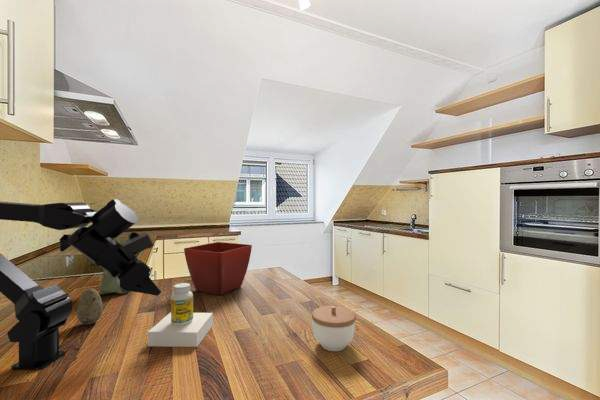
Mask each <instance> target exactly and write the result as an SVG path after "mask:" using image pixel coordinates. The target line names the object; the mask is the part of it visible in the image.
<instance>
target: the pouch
mask: <svg viewBox="0 0 600 400" xmlns="http://www.w3.org/2000/svg"><path fill="white" fill-rule="evenodd" d="M111 239H112V240H114V241H115V242H116V241H117V242H118V243H120V244H121V241H120V239H119V236H118V237H116V238H111ZM102 271H103V272H102V278H101V280H100V281H101V282H100V287H99V291H98V293H99V295H106V294H107V295H108V294H121V295H122V294H126V293H129V291H125V290H124V289H123V288H121V287H120V286H119V285H118V283H117V276H116V277H115V278H114V277H113V276H111V275H110V273H109V272H107V271H106V270H104V269H103V270H102Z"/></svg>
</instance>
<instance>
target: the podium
mask: <svg viewBox="0 0 600 400" xmlns="http://www.w3.org/2000/svg"><path fill="white" fill-rule="evenodd" d="M213 319H214V313H213V312H193V320H192V321H191V322H190V323H188V324H186V325H173V324H172V323H171V311H170V312H169V313H168V314H167V315H165V317H163V318H162V319H161V320H160V321H159V322H157V323H156V324H155V325H154V326H153V327H152V328H151V329H149V330H148V331H147V347H163V348H164V347H168V348H169V347H172V348H175V347H176V348H177V347H178V348H179V347H180V348H181V347H182V348H184V347H186V348H197V347H198V346H199V345H200V344H201V342H202V341H203V339H204V338H205V337H206V335H207V334H208V332H209V331H210V330H211V328H212V327H213V326H214V325H213V324H214V322H213V321H214V320H213Z"/></svg>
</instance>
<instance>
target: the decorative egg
mask: <svg viewBox="0 0 600 400" xmlns="http://www.w3.org/2000/svg"><path fill="white" fill-rule="evenodd" d="M103 310H104V305H103V301H102V297H101V296H100V295H99V291H97V290H96V289H95V288H92V287H90V288H87V289H86V290H85V291H84V292H83V293H82V295H81V296H80V298H79V302H78V304H77V309H76V316H77V320H78V321H79V323H81V324H84V325H92V324H94V323H96V322H97V321H99V319H100V318H101V317H102V314H103V312H104V311H103Z"/></svg>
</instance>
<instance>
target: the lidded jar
mask: <svg viewBox="0 0 600 400" xmlns="http://www.w3.org/2000/svg"><path fill="white" fill-rule="evenodd" d="M356 318H357V317H356V314H355V312H354V311H353V310H351V309H349V308H348V307H343V306H337V305H325V306H319V307H317V308H314V310H313V311H312V312H311V319H312V320H311V322H312V323H311V324H312V332H313V335H314V337H315V340H316V341H317V342H318V343H319V344H320V346H321V348H323V349H324V350H327V351H328V352H340V351H344V350H345V348H346V347H347V346H348V345H349V344H351V342H352V340H353V337H354V335H355V330H356Z"/></svg>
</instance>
